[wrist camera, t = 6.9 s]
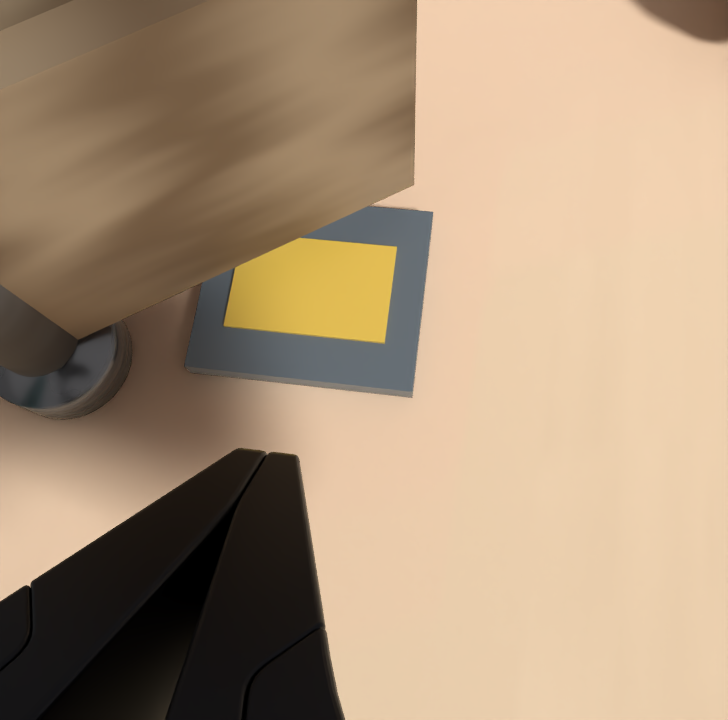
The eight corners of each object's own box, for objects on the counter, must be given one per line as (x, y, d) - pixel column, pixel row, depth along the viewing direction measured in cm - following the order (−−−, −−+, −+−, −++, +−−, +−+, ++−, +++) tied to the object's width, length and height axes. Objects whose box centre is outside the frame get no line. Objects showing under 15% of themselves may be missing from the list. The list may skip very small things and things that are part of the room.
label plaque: (191, 372, 21) (182, 364, 21) (226, 204, 23) (220, 191, 22) (412, 397, 21) (412, 390, 20) (432, 222, 23) (433, 209, 22)
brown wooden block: (11, 391, 20) (-337, 230, 10) (-49, 204, 22) (-386, -68, 12) (423, 200, 21) (435, -99, 11) (328, 39, 23) (274, -325, 13)
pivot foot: (47, 445, 21) (19, 435, 20) (-12, 348, 22) (-43, 332, 21) (155, 367, 22) (136, 352, 20) (92, 277, 23) (69, 256, 21)
